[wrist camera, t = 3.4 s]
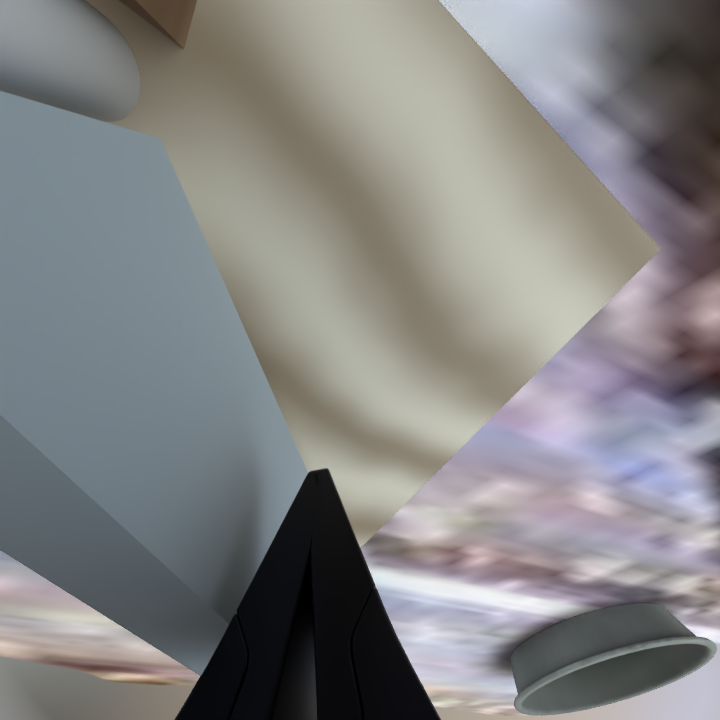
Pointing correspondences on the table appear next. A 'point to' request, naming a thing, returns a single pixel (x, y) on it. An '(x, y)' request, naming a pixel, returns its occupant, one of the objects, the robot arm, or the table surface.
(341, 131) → the base board
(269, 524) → the gate
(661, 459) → the table surface
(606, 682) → the cake pan
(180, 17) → the hinge post
